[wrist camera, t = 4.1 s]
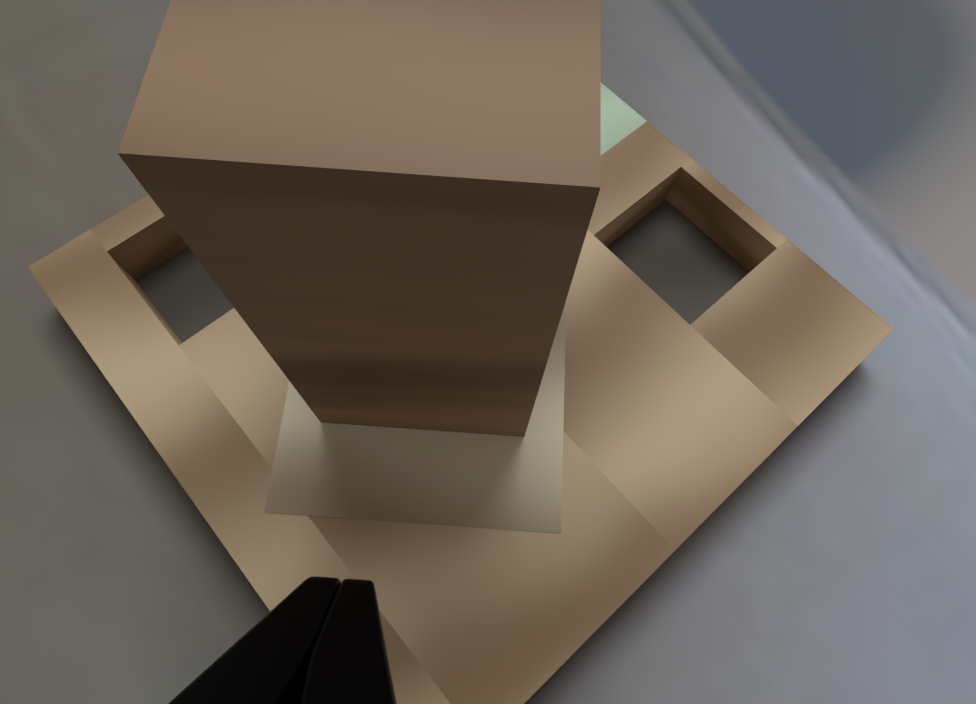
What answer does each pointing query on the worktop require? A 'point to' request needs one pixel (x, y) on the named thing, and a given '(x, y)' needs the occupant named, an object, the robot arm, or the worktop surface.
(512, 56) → the walnut box
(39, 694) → the worktop surface
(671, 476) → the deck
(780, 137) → the worktop surface
